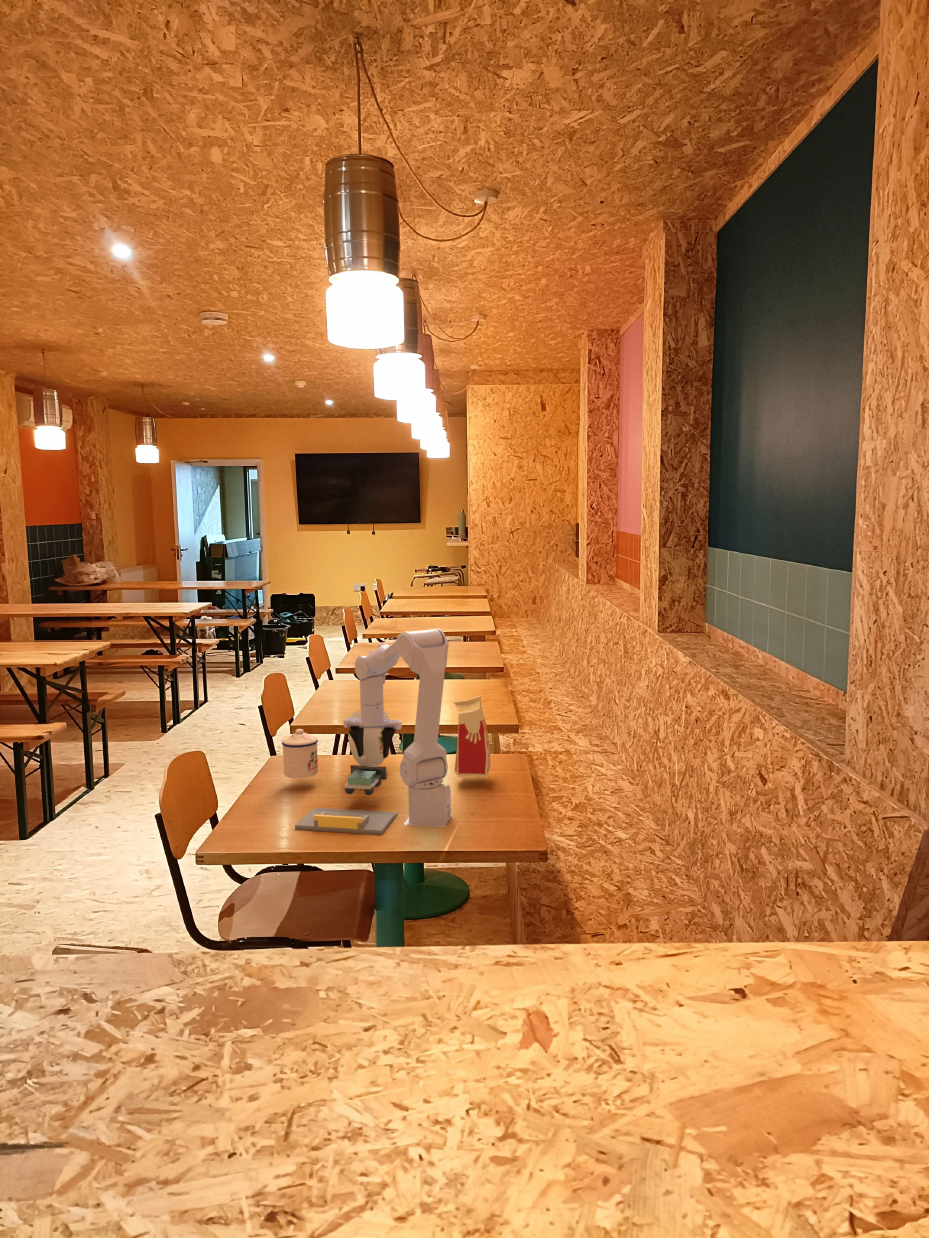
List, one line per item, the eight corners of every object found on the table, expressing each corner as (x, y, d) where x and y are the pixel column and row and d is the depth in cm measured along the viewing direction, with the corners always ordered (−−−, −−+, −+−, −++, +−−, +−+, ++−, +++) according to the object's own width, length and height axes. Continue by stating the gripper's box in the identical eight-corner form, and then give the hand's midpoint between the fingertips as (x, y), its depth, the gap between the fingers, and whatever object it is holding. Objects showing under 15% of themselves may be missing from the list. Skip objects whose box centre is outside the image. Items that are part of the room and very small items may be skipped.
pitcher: (336, 773, 207) (334, 722, 205) (362, 752, 224) (360, 704, 222) (376, 776, 204) (374, 724, 202) (399, 754, 221) (397, 706, 219)
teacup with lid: (315, 779, 202) (313, 733, 200) (279, 779, 202) (277, 734, 200) (323, 764, 214) (322, 722, 212) (289, 765, 214) (288, 722, 212)
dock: (397, 814, 185) (397, 800, 185) (381, 834, 173) (381, 819, 173) (316, 809, 189) (315, 795, 189) (295, 829, 177) (294, 814, 177)
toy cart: (386, 785, 196) (386, 766, 195) (376, 797, 187) (375, 777, 187) (351, 783, 198) (351, 764, 197) (339, 795, 189) (338, 775, 188)
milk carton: (490, 766, 210) (490, 692, 208) (488, 777, 201) (487, 699, 199) (456, 766, 211) (455, 691, 209) (452, 777, 202) (451, 699, 199)
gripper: (404, 700, 201) (405, 753, 202) (349, 698, 204) (350, 750, 205) (396, 706, 194) (398, 761, 195) (339, 704, 197) (341, 758, 198)
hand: (373, 756), depth 200 cm, fingers open, 6 cm apart
